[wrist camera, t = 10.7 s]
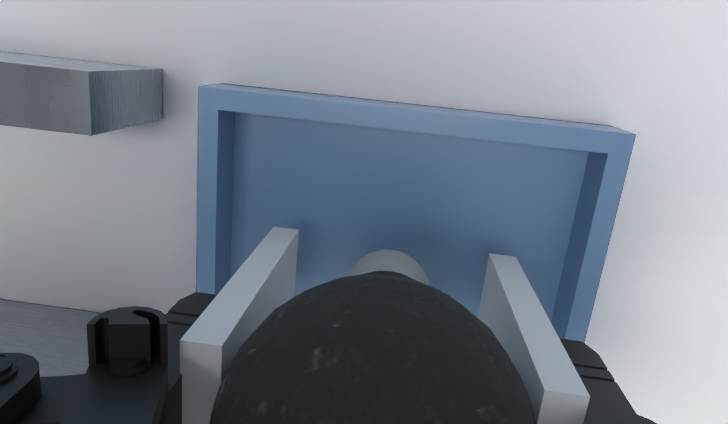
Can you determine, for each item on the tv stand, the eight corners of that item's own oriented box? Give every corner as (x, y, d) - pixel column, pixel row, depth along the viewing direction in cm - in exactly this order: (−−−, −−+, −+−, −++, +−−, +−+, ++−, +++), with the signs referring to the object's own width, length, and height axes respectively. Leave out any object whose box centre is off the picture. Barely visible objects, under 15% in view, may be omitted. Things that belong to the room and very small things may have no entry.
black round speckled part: (483, 185, 15) (610, 405, 5) (479, 358, 17) (572, 766, 7) (291, 190, 16) (101, 396, 6) (304, 357, 17) (169, 734, 8)
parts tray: (216, 360, 20) (195, 393, 18) (222, 83, 17) (197, 86, 15) (543, 406, 19) (558, 445, 17) (609, 125, 16) (636, 134, 14)
